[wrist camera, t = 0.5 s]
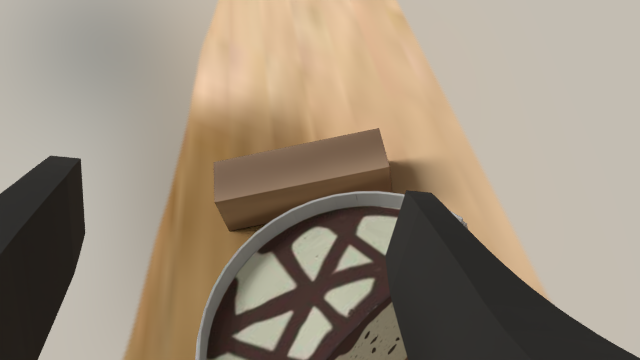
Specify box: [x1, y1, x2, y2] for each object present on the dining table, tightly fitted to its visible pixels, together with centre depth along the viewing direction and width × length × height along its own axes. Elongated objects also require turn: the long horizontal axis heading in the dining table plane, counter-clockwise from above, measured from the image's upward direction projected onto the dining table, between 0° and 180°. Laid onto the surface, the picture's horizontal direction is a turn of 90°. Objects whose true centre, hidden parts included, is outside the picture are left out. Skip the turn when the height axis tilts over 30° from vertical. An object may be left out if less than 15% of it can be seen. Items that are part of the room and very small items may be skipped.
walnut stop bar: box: [214, 128, 392, 231], centre depth 35 cm, size 3×10×3 cm, turn 98°
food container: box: [195, 191, 468, 360], centre depth 25 cm, size 12×6×10 cm, turn 134°
